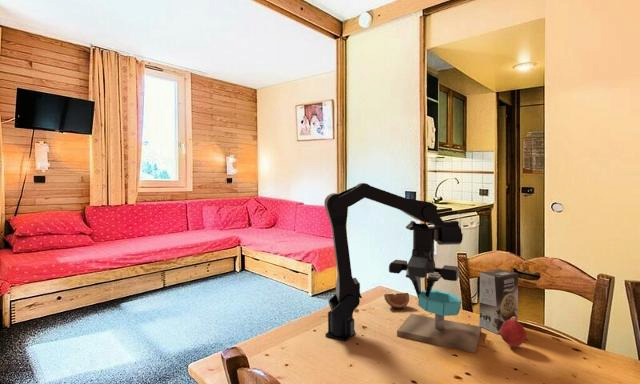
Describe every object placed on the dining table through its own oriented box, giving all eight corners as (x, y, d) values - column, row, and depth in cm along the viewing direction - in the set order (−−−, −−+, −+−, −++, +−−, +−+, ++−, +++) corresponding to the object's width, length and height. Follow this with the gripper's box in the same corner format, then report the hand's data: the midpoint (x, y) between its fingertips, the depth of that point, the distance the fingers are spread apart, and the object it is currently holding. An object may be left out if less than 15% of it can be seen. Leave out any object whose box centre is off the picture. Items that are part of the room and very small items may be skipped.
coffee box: (498, 334, 98) (498, 277, 97) (478, 326, 103) (478, 271, 103) (518, 328, 102) (519, 272, 101) (498, 320, 108) (499, 268, 107)
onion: (501, 350, 89) (502, 319, 88) (498, 340, 94) (499, 311, 94) (528, 354, 87) (528, 322, 86) (523, 344, 92) (523, 314, 92)
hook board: (396, 335, 97) (396, 307, 97) (411, 318, 110) (411, 293, 109) (475, 353, 87) (475, 321, 87) (481, 331, 99) (481, 304, 99)
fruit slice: (386, 311, 115) (386, 296, 115) (381, 304, 122) (381, 290, 122) (411, 310, 116) (411, 295, 116) (405, 303, 123) (405, 289, 123)
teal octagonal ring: (414, 308, 96) (415, 297, 96) (424, 297, 105) (425, 287, 105) (455, 319, 91) (456, 307, 91) (461, 306, 100) (462, 296, 100)
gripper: (382, 247, 98) (382, 302, 98) (453, 253, 88) (452, 315, 89) (395, 240, 107) (394, 291, 108) (460, 246, 98) (459, 301, 98)
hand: (423, 299), depth 100 cm, fingers closed on teal octagonal ring, 2 cm apart
